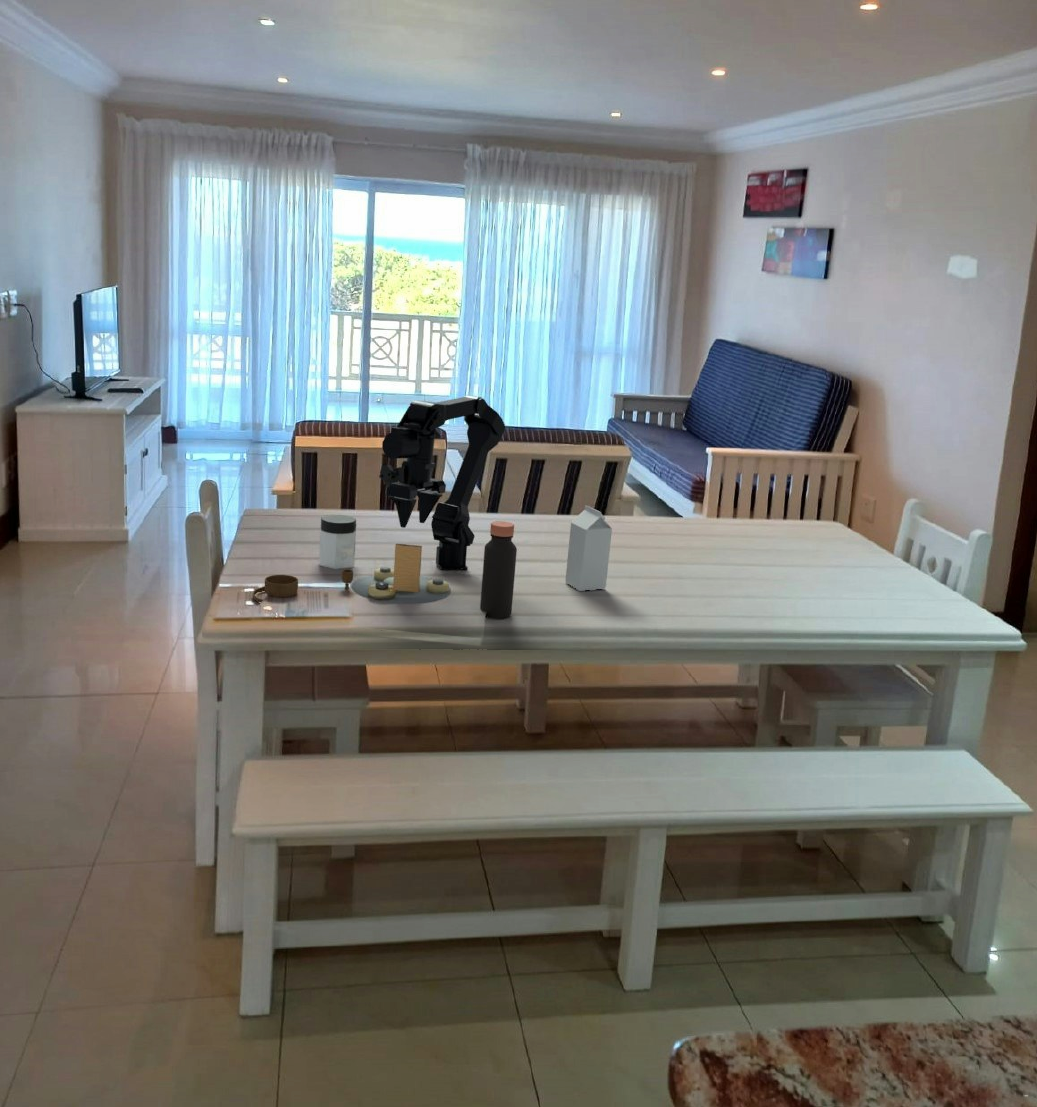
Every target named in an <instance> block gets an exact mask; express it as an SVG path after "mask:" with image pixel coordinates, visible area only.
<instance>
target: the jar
mask: <svg viewBox="0 0 1037 1107" xmlns="http://www.w3.org/2000/svg"><path fill="white" fill-rule="evenodd" d="M319 533H320V534H319V557H318V558H319V560H318V564H319V566H322V567H326V568H330V569H333V570H334V569H335V570H336V569H338V570H339V569H350V568H355V562H356V560H355V559H356V558H355V557H356V538H357V534H356V533H357V519H356V517H353V516H350V515H343V514H329V515H324V516H322V517H321V519H320V532H319Z"/></svg>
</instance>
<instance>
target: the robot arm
mask: <svg viewBox="0 0 1037 1107" xmlns="http://www.w3.org/2000/svg"><path fill="white" fill-rule="evenodd" d="M462 417H463V421H464V422H465V423H466V425H467V426H468V427H467V431H466V435H467V441H468V446H467V449H466V452H465V455H464V457H463V459H462V462H461V465H460V468H459V470H458V473H457V475H456V478H455V480H454V484H453V486H452V490H451V491H450V494H449V497H448V499H446V500H445V501H444V502H440V501H439V500H440V499H441V497H442V496H443V494H445V493H446V487H447V484H446V483H445V481H444V480H443V479H438V478H432V477H431V476H432V469H435V468H436V463H435V462H433V456H434V449H435V441H436V439H440V438H441V434H440V433H439V432H438V430H437V429H439V428H440V427H442V426H444V425H445V424H446V422H447V421H450V420H454V419H458V418H462ZM505 430H506V424H505V421H504V420H503V418H502V417H501V415H500V414H499V412H498V411H496V410H495V409H494V408H493V407H491V406H490V405H489V404H488V403H487V401H486V400H485V398H482V396H481V397H480V396H474V395H469V394H467V395H464V396H463V397H458V398H457V397H456V398H452V399H448V400H444V401H437V402H435V401H434V402H433V401H427V400H426V401H425V400H412V401H411V402H410V403H409V406H408V407H407V409H406V410H405V413H404V414H403V416H402V418H401V420H399V422H398V424H397V426H396V427H395V426H392V427H391V430H390V432H388V433H387V434H386V435H385V436H384V439H383V440H382V451H383V453H384V455H385V456H386V457H387V458H388V459H392V460H396V459H404V460H403V461H402V462H401V466H399V467H394V468H393V466H392V465H391V464H388V465H381V468H380V471H379V476H378V477H379V479H380V480H382V481H383V486H385V485H386V486H385V494H384V495H385V496H388V499H389V500H391V501H392V502H393V503H394V505H395V508H396V511H397V517H398V521H399V526H400V527H401V528H403V529H405V528H406V527H407V524H408V523H409V521H410V519H411V518H410V517H411V515H412V513H413V511H414V508H415V505H416V503H417V501H418V502H419V504H418V505H419V506H418V513H419V514H418V515H419V516H418V517H419V518H418V519H419V523H420V524H425V522H426V520H427V519H428V518H429V516H430V515H431V512H432V511H433V509H434V508H435V510H434V512H433V514H432V516H431V518H432V519H431V521H430V522H431V523H430V525H431V526H430V527H431V531H432V536H433V541H438V546H436V552H435V553H436V554H435V563H436V565H437V566H438V567H439V568H440V569H441V570H442V571H444V570H445V571H446V570H447V571H448V570H449V571H450V570H452V571H453V570H457V571H458V570H469V569H468V568H469V567H468V566H467V564H466V563H467V554H468V552H467V550H468V547H470V546H471V545H473V543H474V540H475V534H474V533H473V531H472V529H471V528H470V527H469V523H470V520H471V516H470V512H469V503H471V499H472V496H473V494H474V490H475V488H476V485H477V482H478V480H479V477H480V475H481V472H482V470H483V466H484V464H485V462H486V459H487V457H488V454H489V452H490V451H491V450H493V449H494V448H495V447H496V446H498V445H499V443H500V441H501V439H502V437H503V434H504V433H505ZM405 459H406V460H405ZM416 498H418V500H417V499H416Z"/></svg>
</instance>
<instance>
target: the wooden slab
mask: <svg viewBox="0 0 1037 1107" xmlns="http://www.w3.org/2000/svg"><path fill="white" fill-rule="evenodd" d="M422 548H423V545H415V544H403V543H395V546H394V561H393V562H394V564H393V565H394V566H393V569H394V580H393V586H391V585H389V584H388V583H387V582H376V584H373V585H370V586H368V594H367V595H368V596H369V597H371V598H374V599H381V600H385V599H392V598H394V597H395V596H396V590H399V591H409V592H419V586H420V576H421V568H422V552H423V551H422Z"/></svg>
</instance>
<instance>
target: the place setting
mask: <svg viewBox="0 0 1037 1107" xmlns="http://www.w3.org/2000/svg"><path fill="white" fill-rule="evenodd" d="M353 579H354V570H353V569H350V568H343V569H342V570H341V581H342V583H344V590H347V591H348V590H350V588H349V585H350V584H352V583H353ZM298 590H299V578H298V577H296V576H293V575H288V574H273V575H269V576H267V577H265V578H264V586H260V587H258V588H256V589H254V590H253V591H252V593H251V594H252V598H253V600H254V601H255V600H256V601H258V602H261V603H263V601H264V599H263V598H260V597H258V596H257V597H256V596H255V594H256V593H257V592H262V591H265V592H266V593H265V594H266V595H267V596H269V597H272V598H278V599H279V598H281V599H282V598H283V599H284V598H285V599H286V598H291V597H293V596H296V595H297V593H298ZM256 601H255V602H256ZM258 602H257V603H258Z"/></svg>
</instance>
